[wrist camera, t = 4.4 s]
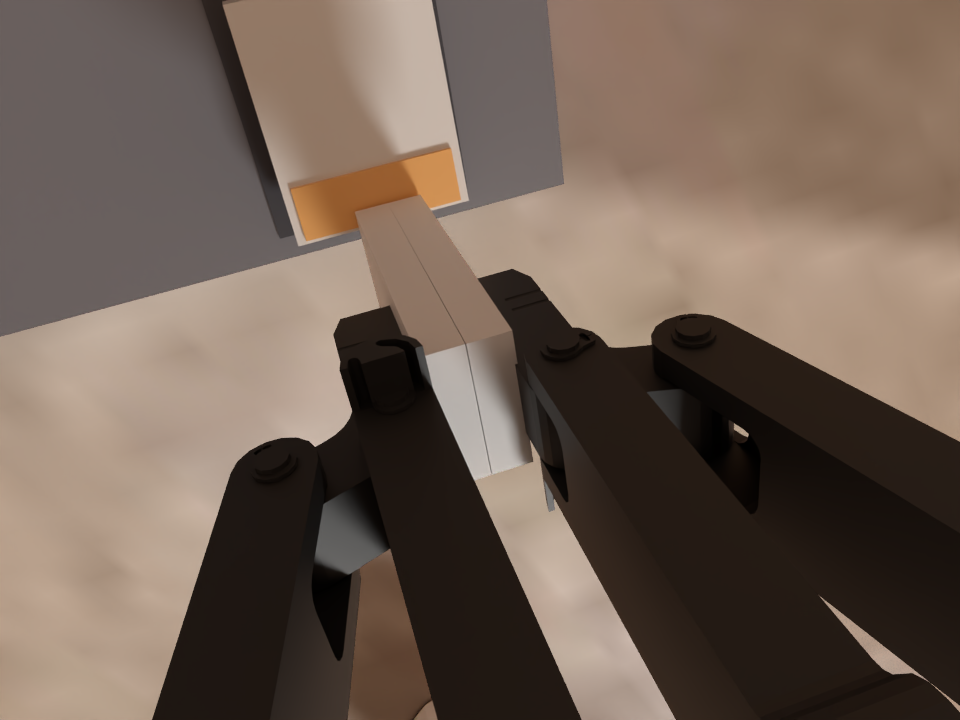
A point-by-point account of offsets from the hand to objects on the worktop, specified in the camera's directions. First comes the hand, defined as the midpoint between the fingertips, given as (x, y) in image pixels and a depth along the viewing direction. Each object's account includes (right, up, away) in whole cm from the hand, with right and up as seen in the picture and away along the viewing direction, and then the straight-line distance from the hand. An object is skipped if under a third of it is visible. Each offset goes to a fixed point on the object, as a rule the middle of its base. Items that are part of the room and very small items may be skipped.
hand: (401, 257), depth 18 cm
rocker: (-1, +3, -1) cm, 3 cm away
